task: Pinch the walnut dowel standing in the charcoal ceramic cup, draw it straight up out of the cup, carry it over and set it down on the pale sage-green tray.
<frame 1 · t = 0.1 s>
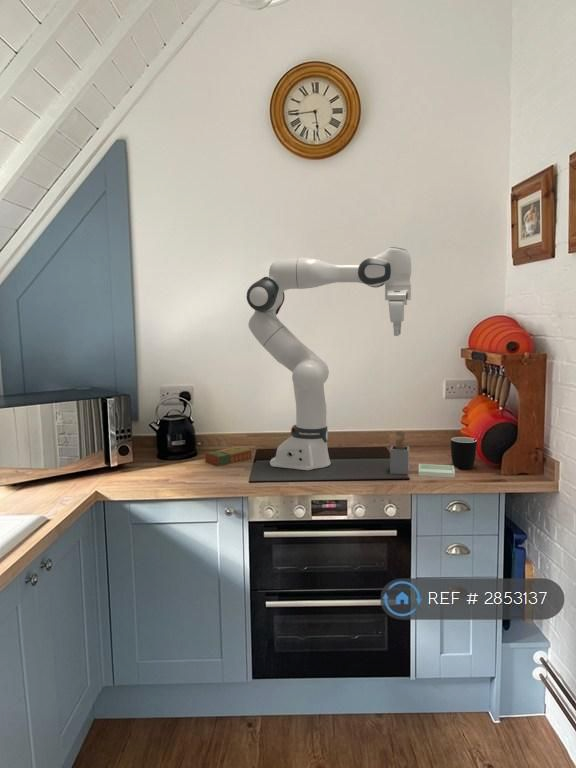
hand: (397, 335, 210), 48 cm above the worktop, fingers open, 8 cm apart
carton: (228, 461, 229), on the worktop
tray: (436, 474, 208), on the worktop
mug: (461, 466, 218), on the worktop
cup: (399, 473, 210), on the worktop
dowel: (399, 471, 209), point 1 cm above the worktop, touching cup
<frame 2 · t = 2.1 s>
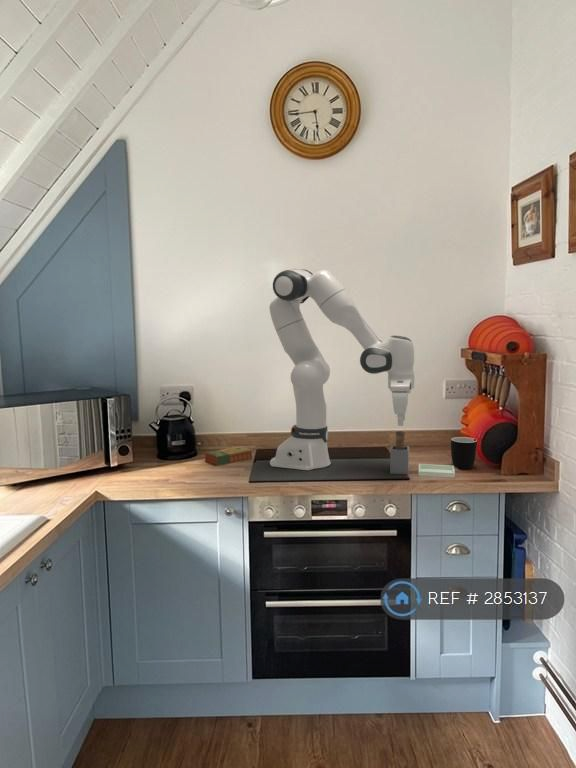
hand: (401, 422, 207), 18 cm above the worktop, fingers open, 8 cm apart
nothing on the worktop moved.
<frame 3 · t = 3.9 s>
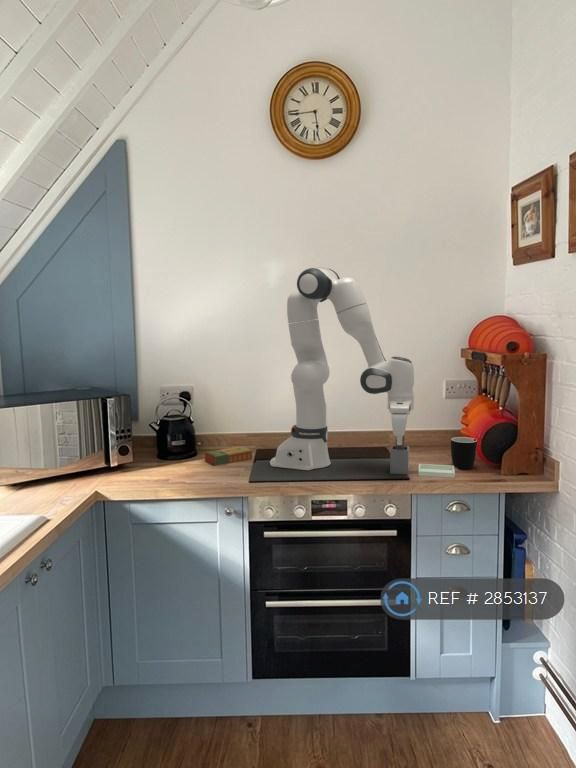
hand: (399, 443, 208), 11 cm above the worktop, fingers closed on dowel, 3 cm apart
dowel: (399, 471, 209), point 1 cm above the worktop, touching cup, gripper
everything else where it was.
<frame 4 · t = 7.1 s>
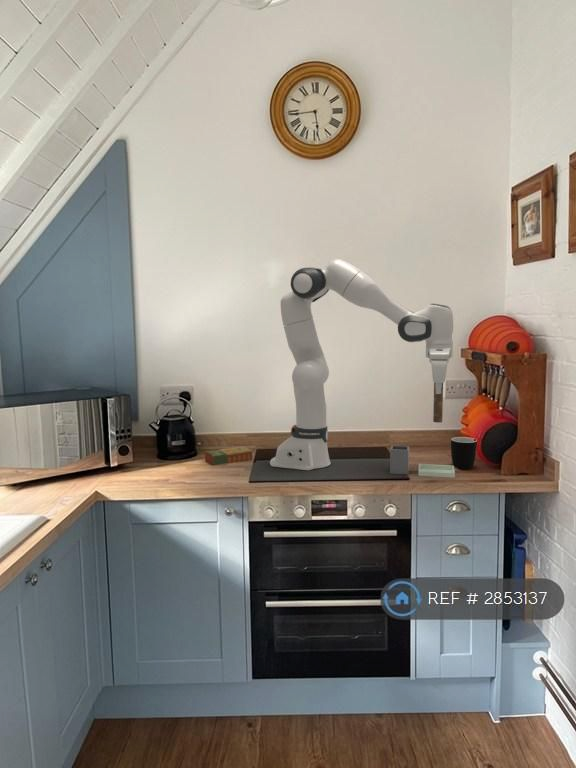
hand: (438, 392, 204), 28 cm above the worktop, fingers closed on dowel, 3 cm apart
dowel: (437, 421, 205), point 19 cm above the worktop, touching gripper
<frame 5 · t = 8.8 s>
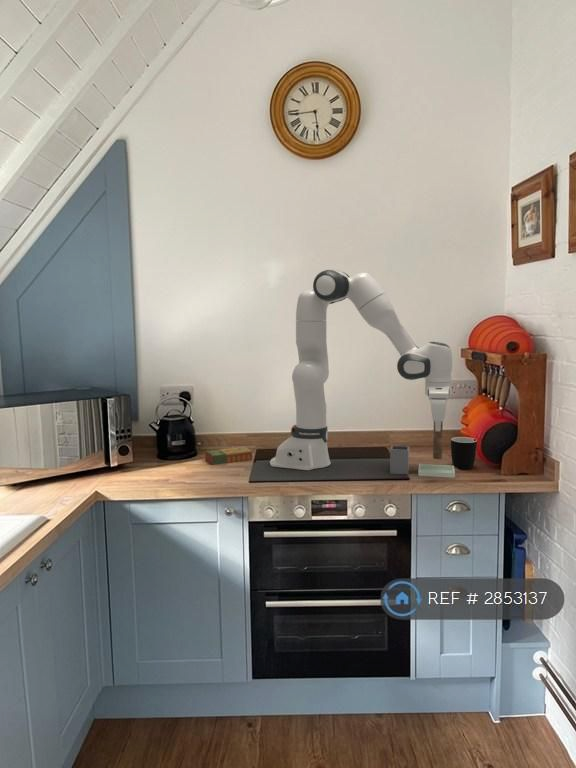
hand: (437, 429, 206), 16 cm above the worktop, fingers closed on dowel, 3 cm apart
dowel: (437, 458, 207), point 6 cm above the worktop, touching gripper
when the fingers open (12 cm above the worktop, at t = 10.2 s): dowel drops 1 cm, resting on tray.
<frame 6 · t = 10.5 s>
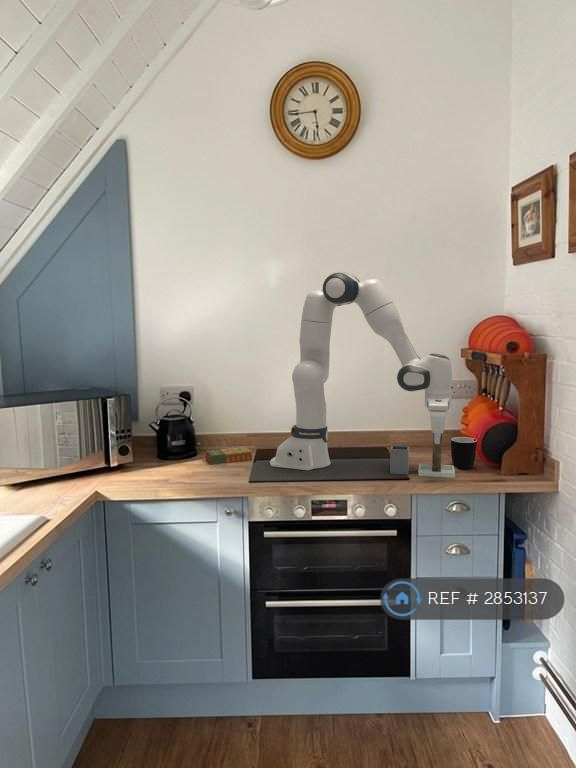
hand: (437, 441, 206), 12 cm above the worktop, fingers open, 6 cm apart
dowel: (436, 472, 208), point 1 cm above the worktop, touching tray
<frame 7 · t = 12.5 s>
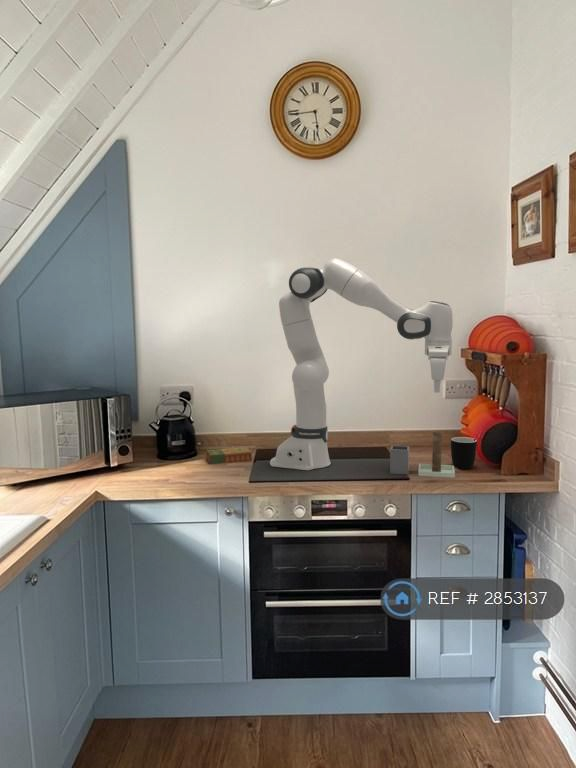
hand: (436, 390, 204), 29 cm above the worktop, fingers open, 8 cm apart
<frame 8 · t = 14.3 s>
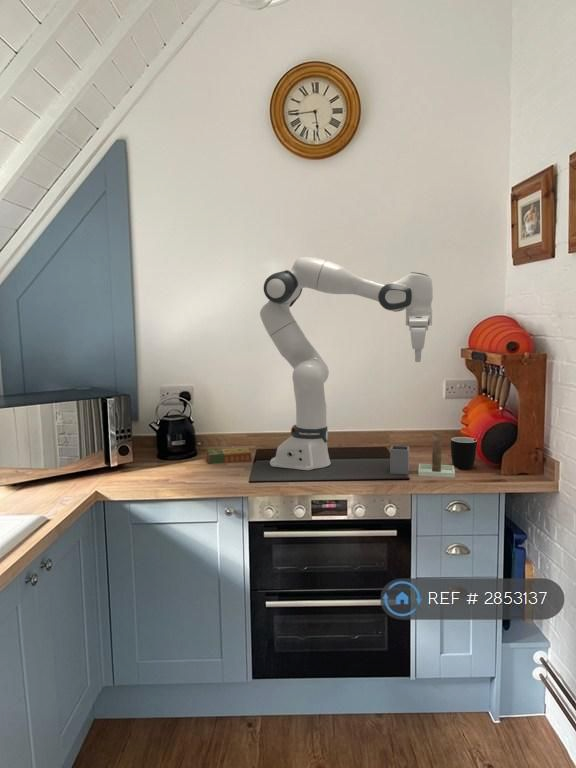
hand: (418, 360, 207), 39 cm above the worktop, fingers open, 8 cm apart
at the end: dowel inside the target area on the tray (0.0 cm from its centre), point 0.6 cm above the tray's base; dowel touching tray; the gripper is holding nothing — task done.
